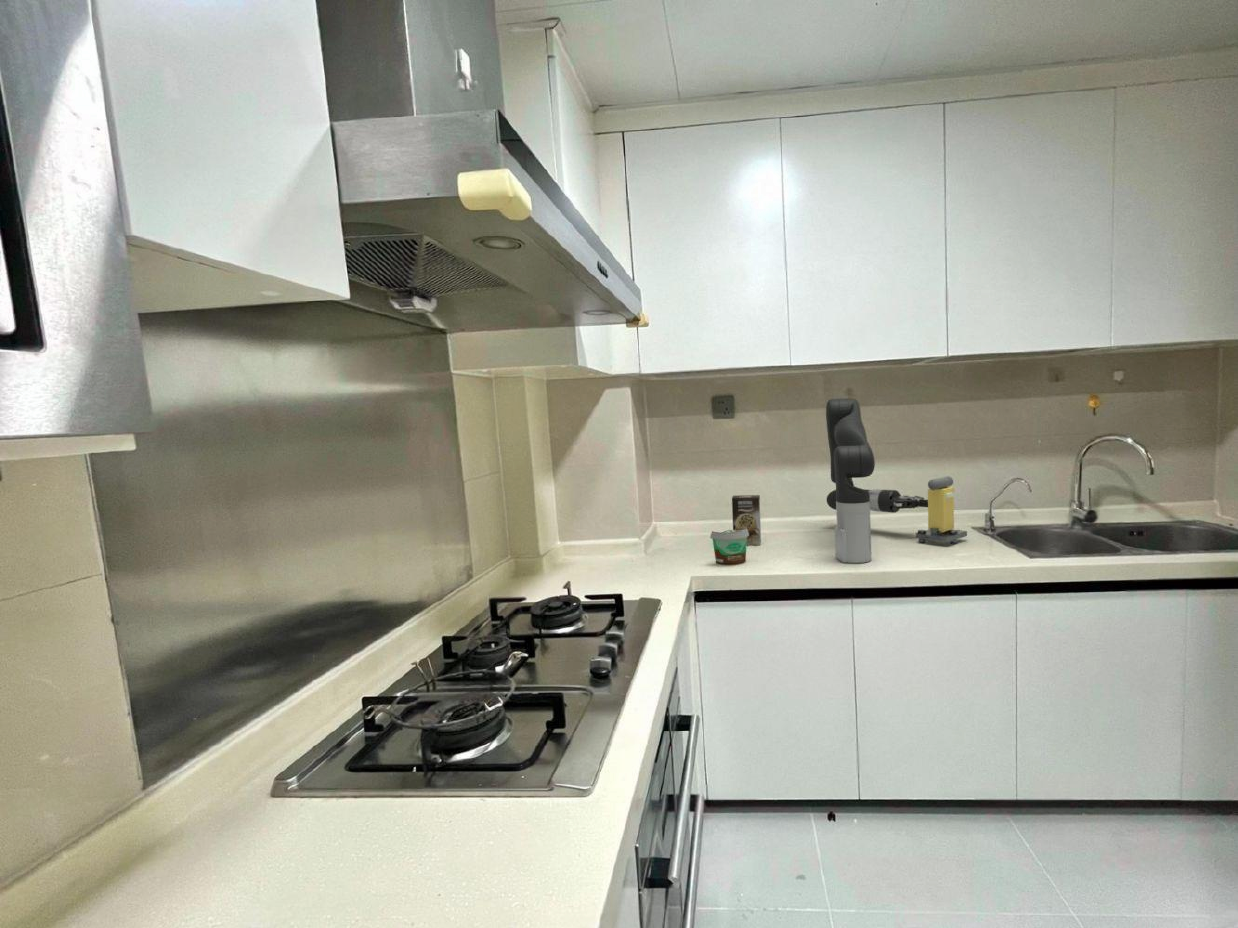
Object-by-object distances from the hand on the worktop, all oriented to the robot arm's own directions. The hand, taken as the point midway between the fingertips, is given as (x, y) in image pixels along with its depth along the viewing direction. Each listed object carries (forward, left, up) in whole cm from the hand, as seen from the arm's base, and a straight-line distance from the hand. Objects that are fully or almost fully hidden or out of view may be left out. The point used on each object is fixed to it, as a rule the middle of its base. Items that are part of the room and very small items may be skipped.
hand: (933, 503), depth 209 cm
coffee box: (-57, +13, -12) cm, 59 cm away
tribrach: (+1, -2, -12) cm, 12 cm away
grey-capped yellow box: (+1, -2, -8) cm, 8 cm away
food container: (-66, -12, -12) cm, 68 cm away
